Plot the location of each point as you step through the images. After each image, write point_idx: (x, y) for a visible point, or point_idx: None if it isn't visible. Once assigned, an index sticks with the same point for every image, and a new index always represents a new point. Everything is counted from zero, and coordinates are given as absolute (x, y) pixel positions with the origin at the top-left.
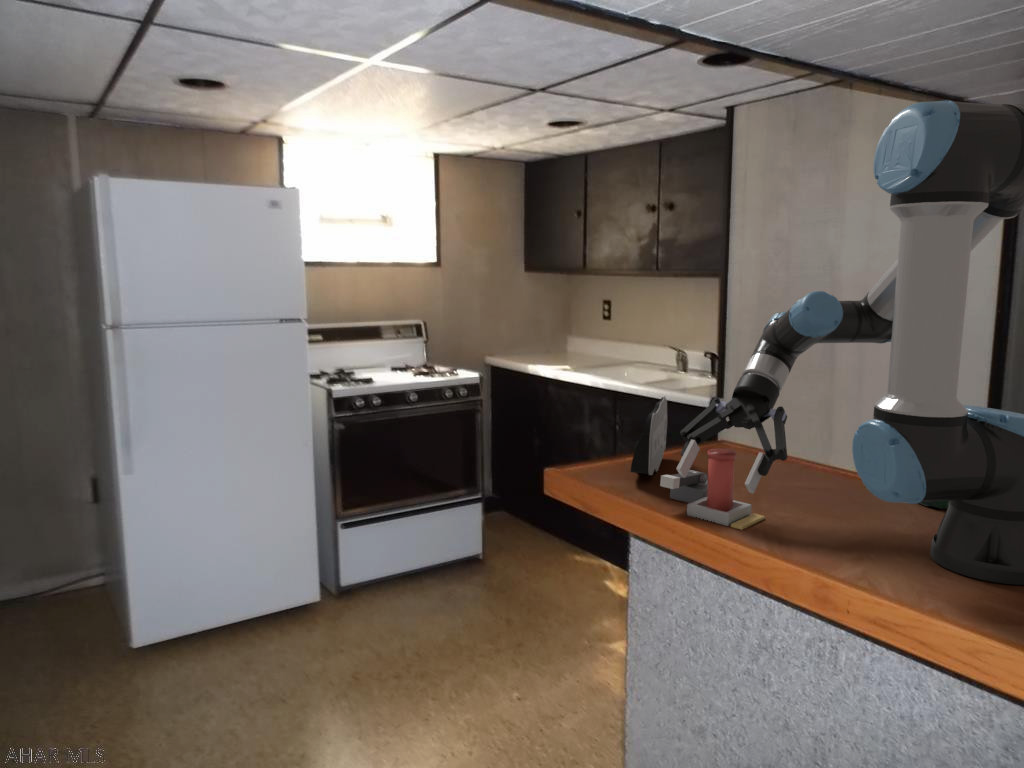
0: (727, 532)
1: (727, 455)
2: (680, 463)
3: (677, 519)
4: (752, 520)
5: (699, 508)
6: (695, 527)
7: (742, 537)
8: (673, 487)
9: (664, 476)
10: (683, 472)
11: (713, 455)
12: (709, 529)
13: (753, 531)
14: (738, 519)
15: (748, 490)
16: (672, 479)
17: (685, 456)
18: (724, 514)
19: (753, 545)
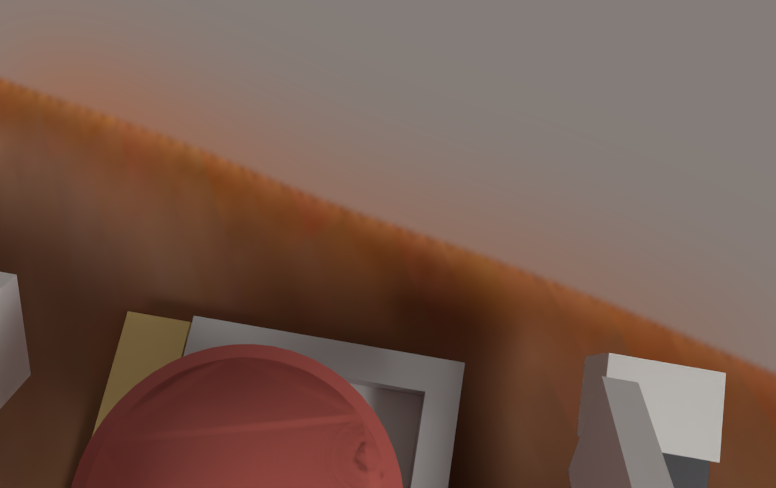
0: (188, 239)
1: (135, 385)
2: (636, 421)
3: (468, 277)
4: None
5: (382, 350)
6: (345, 217)
7: (106, 214)
8: (587, 359)
9: (694, 368)
10: (585, 439)
11: (290, 353)
12: (277, 229)
13: (75, 329)
14: None
15: (24, 352)
16: (617, 354)
17: (640, 481)
18: (220, 320)
19: (39, 145)
